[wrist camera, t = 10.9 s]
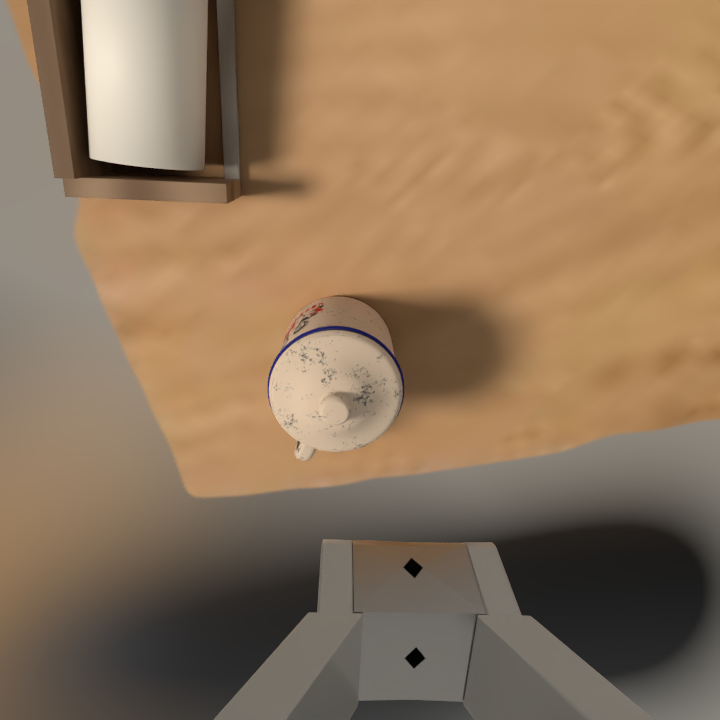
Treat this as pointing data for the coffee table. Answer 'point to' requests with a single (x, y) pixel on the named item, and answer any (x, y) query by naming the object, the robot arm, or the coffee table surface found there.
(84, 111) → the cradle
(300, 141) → the coffee table surface
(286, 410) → the teacup with lid
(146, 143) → the roll
